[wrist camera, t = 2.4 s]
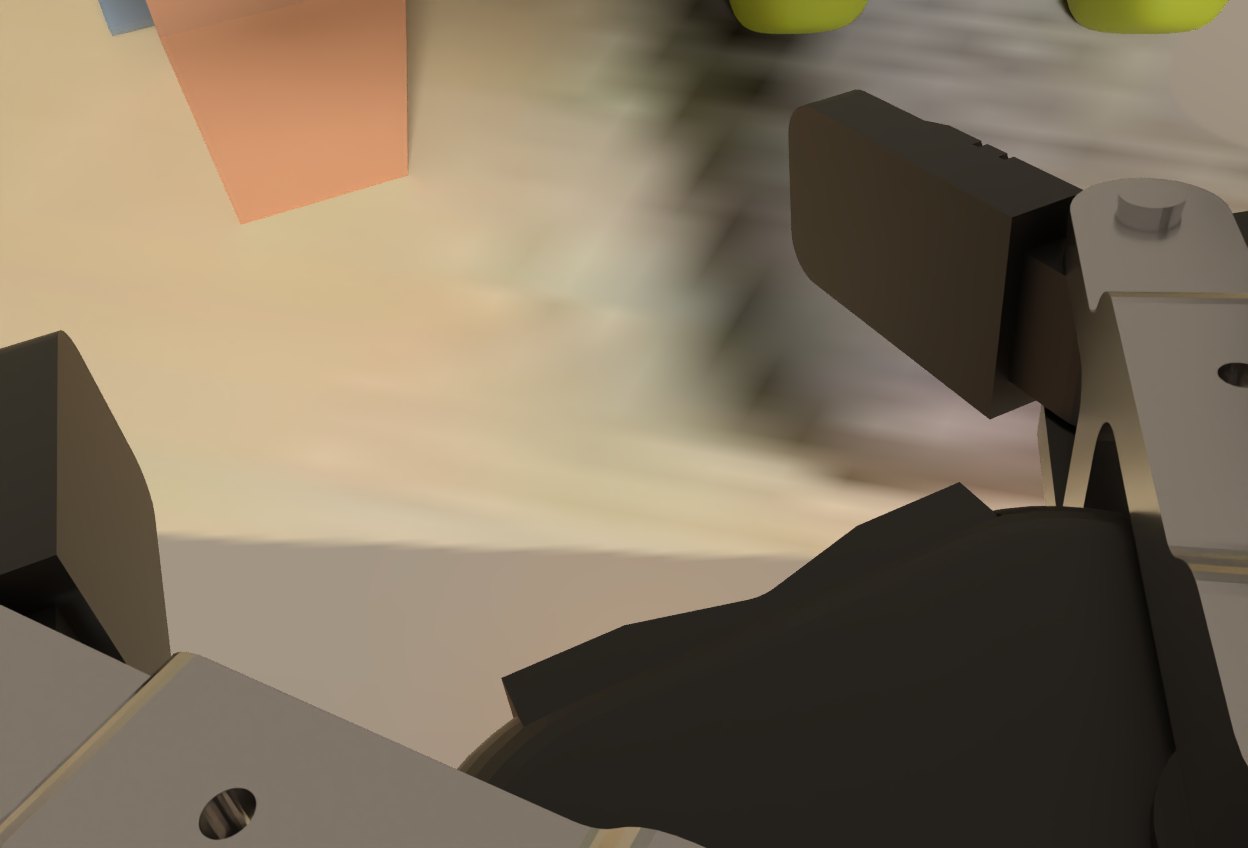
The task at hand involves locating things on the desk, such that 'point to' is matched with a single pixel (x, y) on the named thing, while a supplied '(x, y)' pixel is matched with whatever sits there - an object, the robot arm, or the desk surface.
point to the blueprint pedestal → (126, 15)
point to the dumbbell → (1095, 3)
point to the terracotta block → (292, 94)
